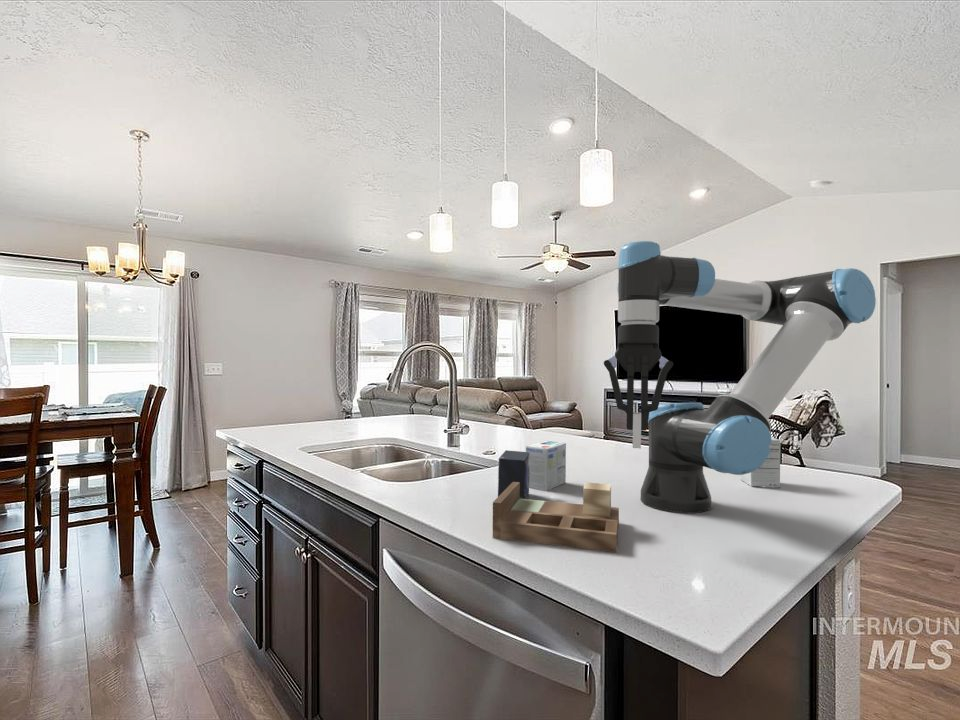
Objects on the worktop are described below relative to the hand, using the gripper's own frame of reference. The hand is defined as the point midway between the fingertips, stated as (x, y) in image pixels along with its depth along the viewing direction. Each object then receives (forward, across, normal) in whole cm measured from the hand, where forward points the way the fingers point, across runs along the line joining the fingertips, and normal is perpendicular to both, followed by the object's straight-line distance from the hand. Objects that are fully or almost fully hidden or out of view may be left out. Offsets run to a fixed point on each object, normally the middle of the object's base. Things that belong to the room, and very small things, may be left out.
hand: (636, 447), depth 95 cm
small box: (+17, +27, -14) cm, 35 cm away
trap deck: (+16, +14, +4) cm, 22 cm away
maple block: (+13, +7, 0) cm, 15 cm away
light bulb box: (+17, +22, -29) cm, 40 cm away
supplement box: (+16, -32, -48) cm, 60 cm away
